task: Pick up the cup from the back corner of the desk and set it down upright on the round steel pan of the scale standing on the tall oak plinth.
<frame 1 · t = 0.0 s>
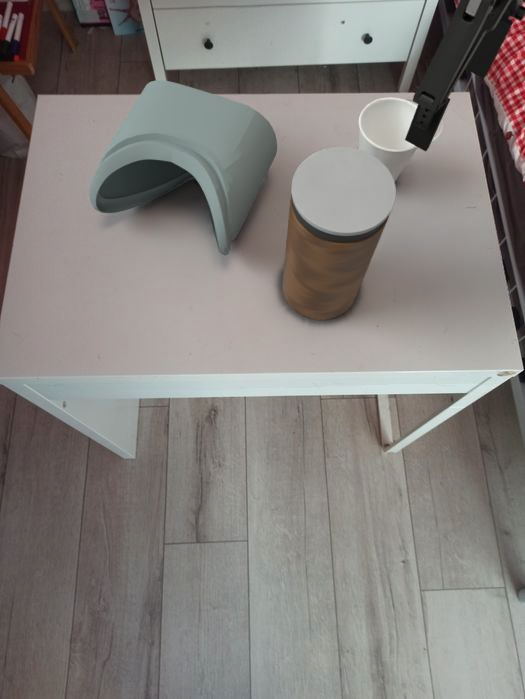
hand: (446, 106, 56), 21 cm above the table, tool pointing down, fingers open, 13 cm apart
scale: (340, 201, 53), resting on plinth
sage-green arched shell: (190, 202, 77), on the table
plinth: (319, 286, 72), on the table
cup: (376, 177, 79), on the table
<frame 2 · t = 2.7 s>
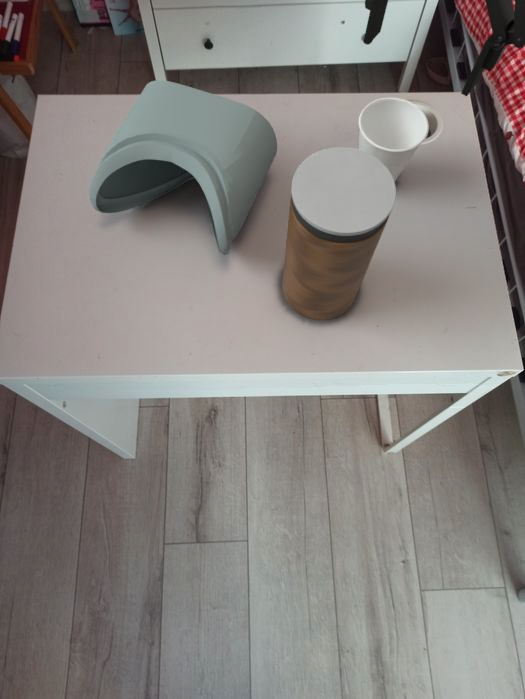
hand: (419, 62, 58), 21 cm above the table, tool pointing down, fingers open, 13 cm apart
nothing on the table moved.
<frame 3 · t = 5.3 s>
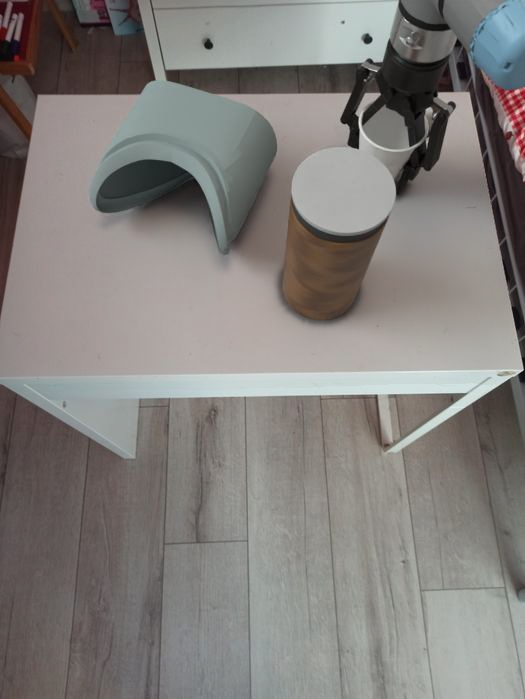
hand: (376, 174, 79), 0 cm above the table, tool pointing down, fingers closed on cup, 8 cm apart
cup: (376, 177, 79), on the table, touching gripper
everything else where it was.
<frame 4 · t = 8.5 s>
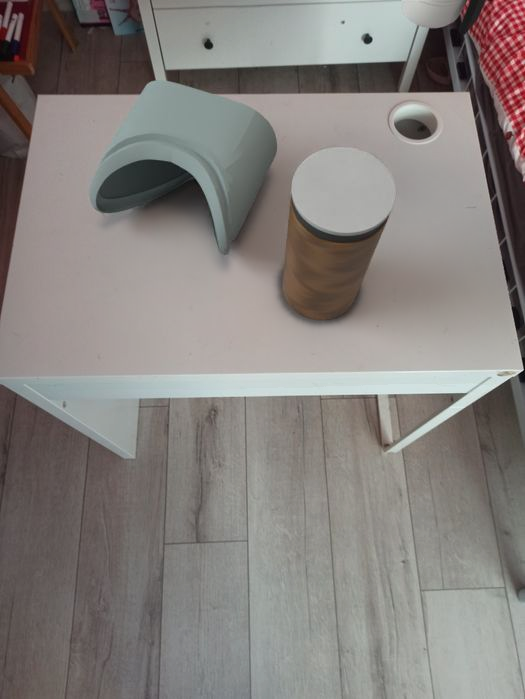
hand: (430, 7, 51), 29 cm above the table, tool pointing down, fingers closed on cup, 8 cm apart
cup: (429, 12, 51), point 28 cm above the table, touching gripper
everything else where it was.
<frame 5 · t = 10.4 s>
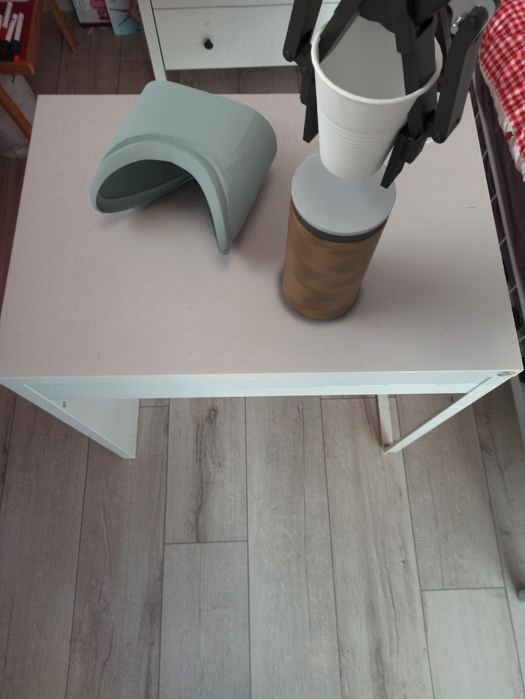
hand: (351, 154, 47), 27 cm above the table, tool pointing down, fingers closed on cup, 8 cm apart
cup: (350, 158, 47), point 26 cm above the table, touching gripper
everything else where it was.
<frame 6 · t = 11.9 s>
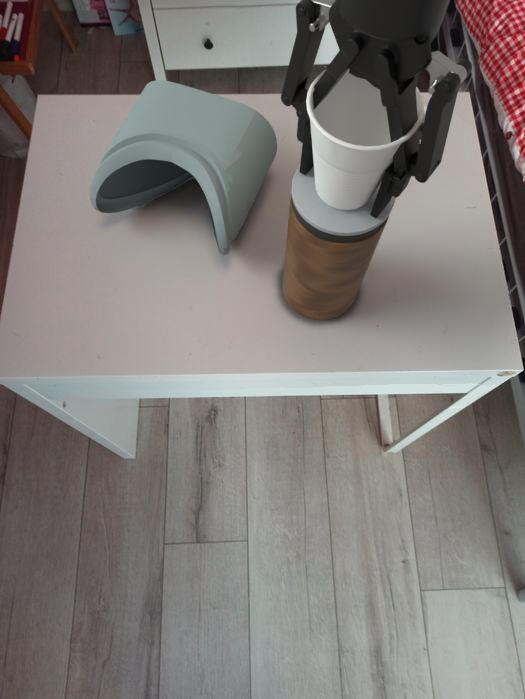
hand: (344, 186, 51), 22 cm above the table, tool pointing down, fingers closed on cup, 8 cm apart
cup: (343, 189, 51), point 22 cm above the table, touching gripper, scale
everything else where it was.
when the fingers open (22 cm above the table, at t = 12.0 s): cup stays where it is, resting on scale.
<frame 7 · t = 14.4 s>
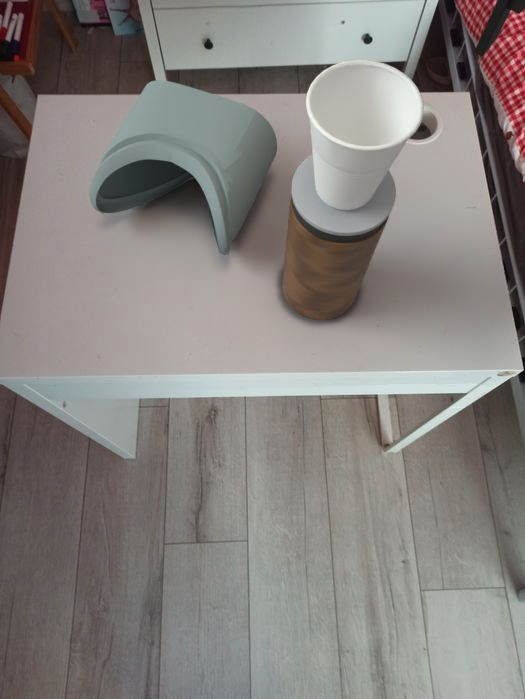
hand: (410, 9, 39), 37 cm above the table, tool pointing down, fingers open, 13 cm apart
cup: (343, 189, 51), point 22 cm above the table, touching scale
everything else where it was.
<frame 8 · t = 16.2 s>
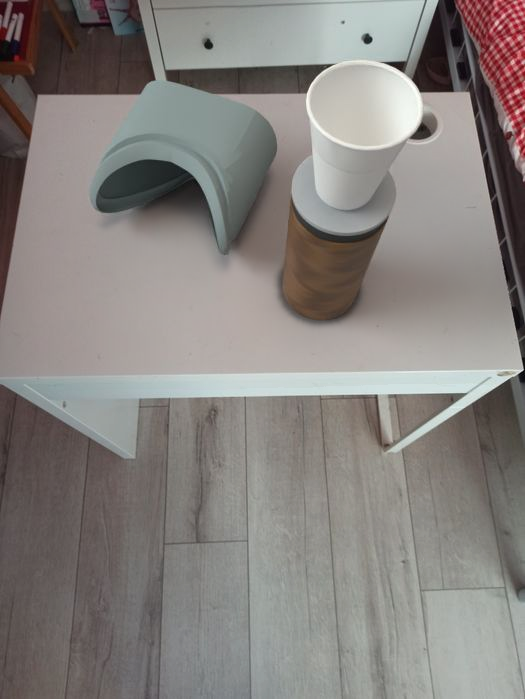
nothing on the table moved.
at the end: cup 0.0 cm off-centre on the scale, point 2.0 cm above the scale's base; cup tilted 0°; the gripper is holding nothing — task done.
